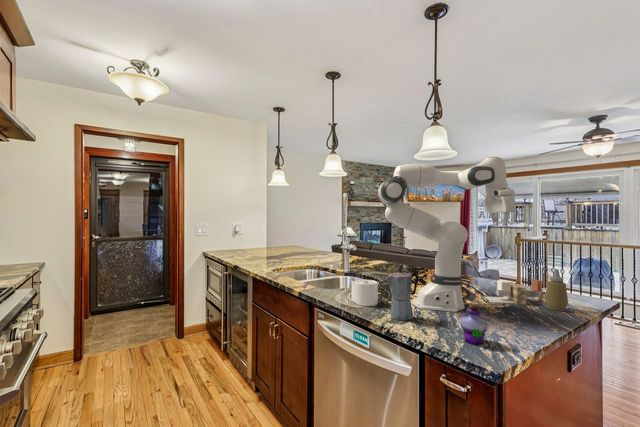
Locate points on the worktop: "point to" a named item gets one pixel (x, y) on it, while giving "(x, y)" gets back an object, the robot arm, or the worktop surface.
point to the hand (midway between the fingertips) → (500, 222)
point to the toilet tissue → (365, 292)
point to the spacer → (504, 285)
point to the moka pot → (401, 294)
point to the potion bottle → (474, 326)
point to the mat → (500, 300)
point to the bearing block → (517, 294)
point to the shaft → (529, 293)
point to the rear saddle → (542, 298)
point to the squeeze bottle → (556, 293)
